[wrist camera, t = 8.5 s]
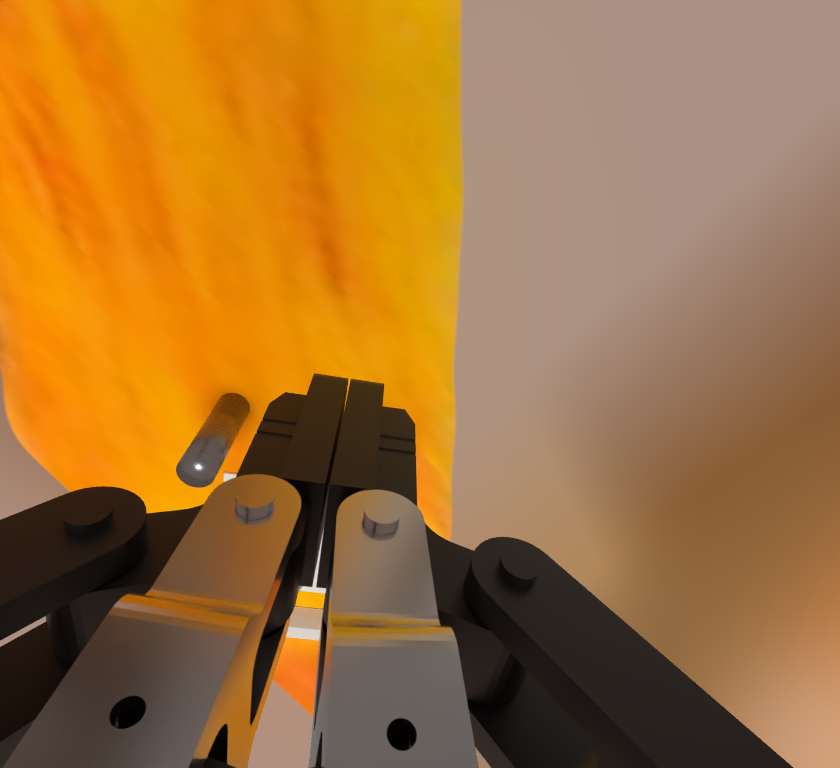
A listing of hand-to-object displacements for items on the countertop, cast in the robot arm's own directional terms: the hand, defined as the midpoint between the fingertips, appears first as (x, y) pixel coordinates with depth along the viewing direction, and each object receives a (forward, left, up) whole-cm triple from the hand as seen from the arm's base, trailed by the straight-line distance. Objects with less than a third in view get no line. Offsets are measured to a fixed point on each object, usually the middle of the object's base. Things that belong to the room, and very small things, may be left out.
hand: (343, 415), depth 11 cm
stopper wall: (+43, -1, -29) cm, 52 cm away
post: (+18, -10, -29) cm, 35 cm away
